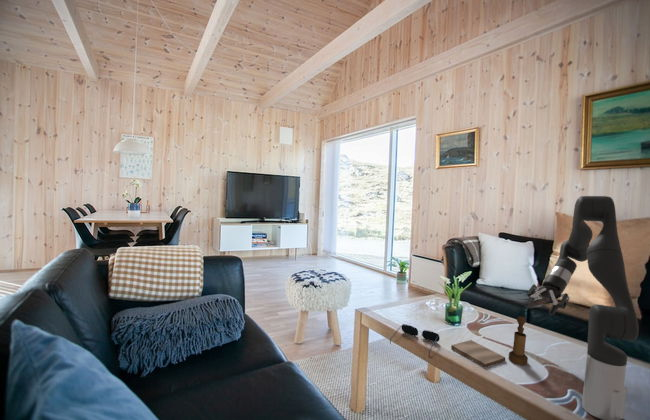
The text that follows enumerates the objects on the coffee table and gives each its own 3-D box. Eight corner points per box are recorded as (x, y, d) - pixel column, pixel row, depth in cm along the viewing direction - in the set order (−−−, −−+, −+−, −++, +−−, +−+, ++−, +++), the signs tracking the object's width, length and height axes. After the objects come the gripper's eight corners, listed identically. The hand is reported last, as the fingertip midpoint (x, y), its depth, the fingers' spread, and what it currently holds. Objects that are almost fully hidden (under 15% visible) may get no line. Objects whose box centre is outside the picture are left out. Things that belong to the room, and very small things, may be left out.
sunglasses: (439, 343, 145) (439, 333, 144) (429, 362, 133) (429, 350, 132) (401, 332, 154) (401, 322, 153) (389, 348, 142) (389, 338, 141)
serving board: (505, 361, 131) (505, 357, 131) (485, 367, 126) (485, 363, 125) (470, 343, 145) (470, 340, 145) (451, 348, 140) (451, 345, 140)
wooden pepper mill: (530, 366, 128) (534, 321, 126) (511, 364, 129) (515, 319, 128) (523, 357, 134) (527, 314, 133) (506, 355, 136) (509, 312, 134)
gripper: (536, 270, 145) (518, 299, 141) (573, 278, 132) (554, 310, 128) (542, 280, 148) (525, 309, 143) (579, 290, 135) (561, 322, 131)
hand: (539, 310), depth 136 cm, fingers open, 8 cm apart
